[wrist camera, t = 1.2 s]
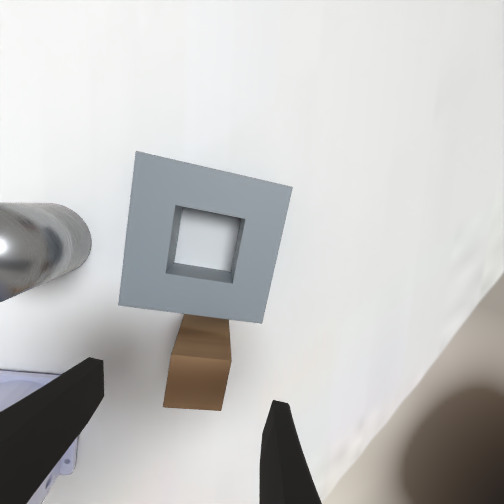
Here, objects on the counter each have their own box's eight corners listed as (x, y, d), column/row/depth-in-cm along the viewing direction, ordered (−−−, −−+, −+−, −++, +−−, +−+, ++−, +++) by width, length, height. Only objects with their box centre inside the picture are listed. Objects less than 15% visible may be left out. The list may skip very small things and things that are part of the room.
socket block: (256, 306, 20) (261, 323, 18) (134, 289, 19) (118, 305, 16) (281, 189, 19) (292, 187, 16) (150, 160, 17) (136, 150, 14)
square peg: (220, 353, 21) (221, 410, 15) (179, 349, 20) (162, 407, 14) (228, 315, 20) (231, 360, 14) (185, 310, 20) (171, 354, 14)
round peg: (88, 278, 18) (26, 312, 12) (12, 267, 17) (-94, 298, 12) (94, 211, 17) (30, 214, 12) (14, 196, 17) (-99, 191, 11)
